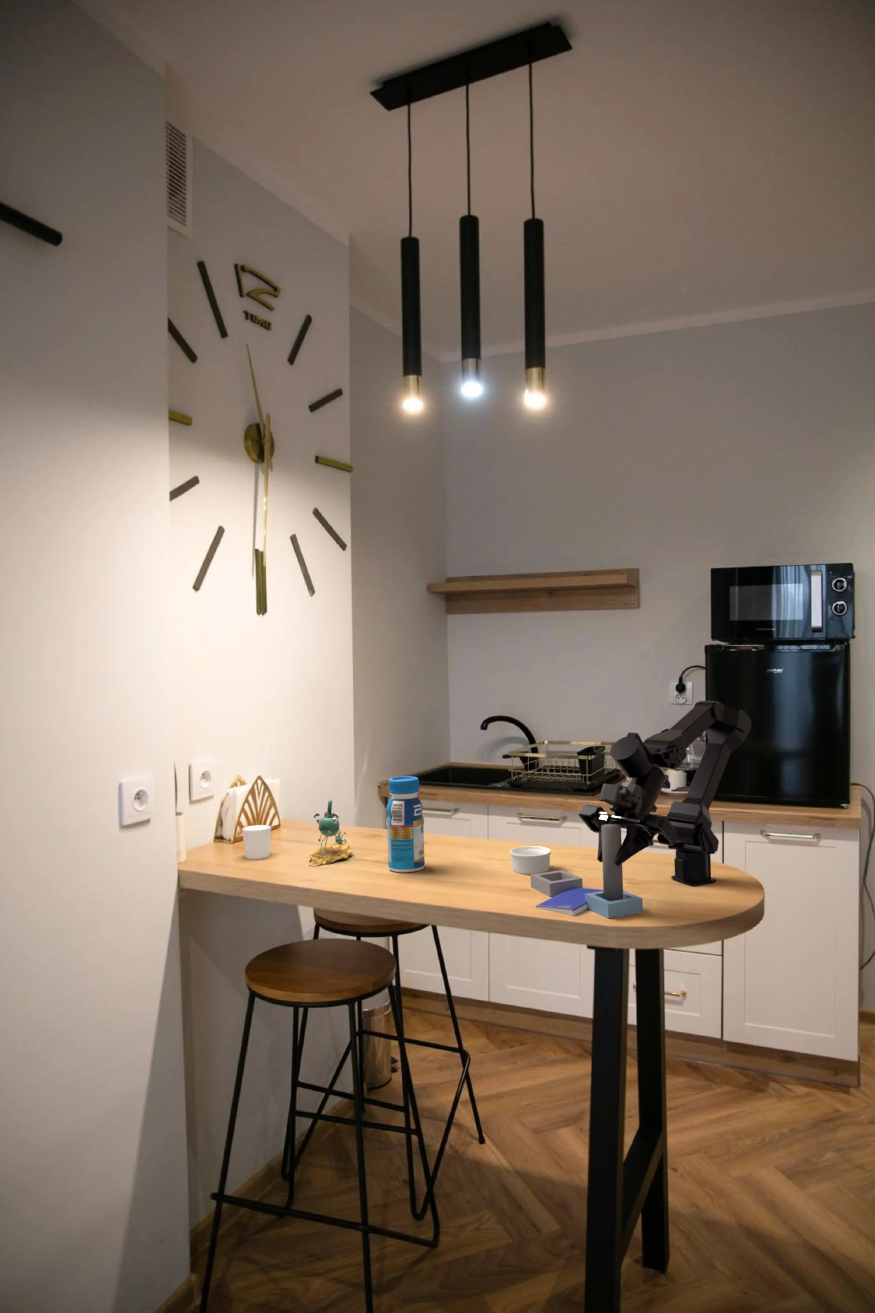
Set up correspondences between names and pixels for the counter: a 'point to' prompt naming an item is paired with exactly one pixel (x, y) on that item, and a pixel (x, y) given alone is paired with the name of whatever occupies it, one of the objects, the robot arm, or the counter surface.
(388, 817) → the beverage bottle
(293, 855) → the counter surface
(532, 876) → the grey square frame
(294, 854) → the counter surface
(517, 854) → the ramekin
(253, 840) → the white short cylinder
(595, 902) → the blue bezel
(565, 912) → the blue book
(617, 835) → the plug
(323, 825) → the frog figurine
